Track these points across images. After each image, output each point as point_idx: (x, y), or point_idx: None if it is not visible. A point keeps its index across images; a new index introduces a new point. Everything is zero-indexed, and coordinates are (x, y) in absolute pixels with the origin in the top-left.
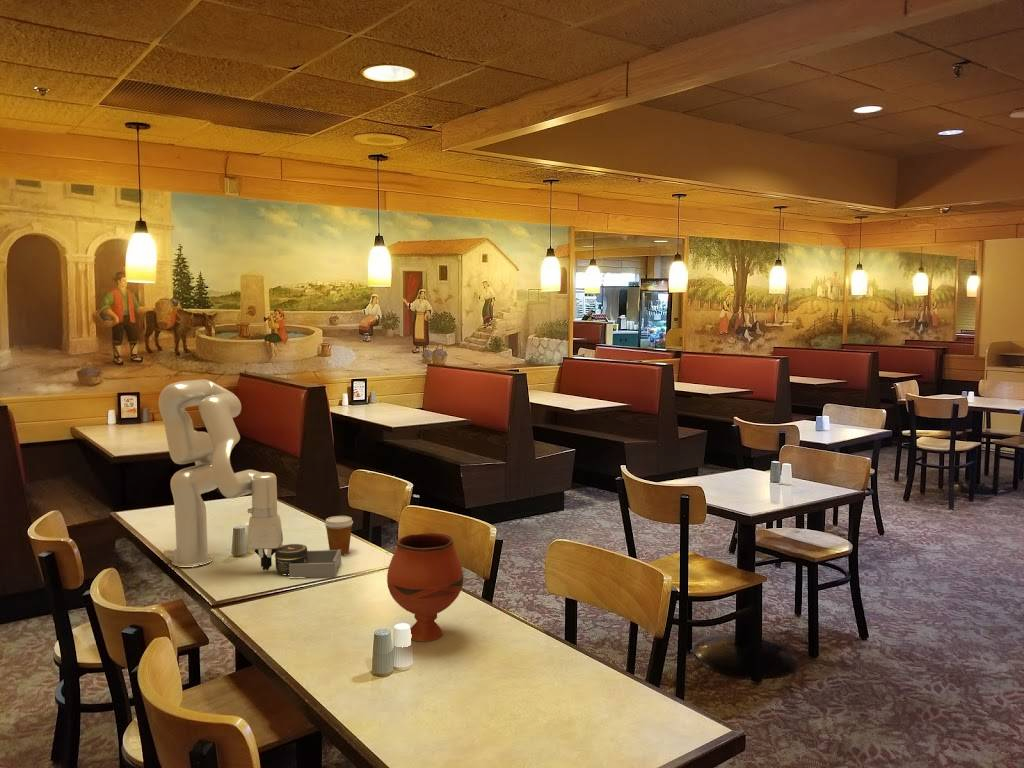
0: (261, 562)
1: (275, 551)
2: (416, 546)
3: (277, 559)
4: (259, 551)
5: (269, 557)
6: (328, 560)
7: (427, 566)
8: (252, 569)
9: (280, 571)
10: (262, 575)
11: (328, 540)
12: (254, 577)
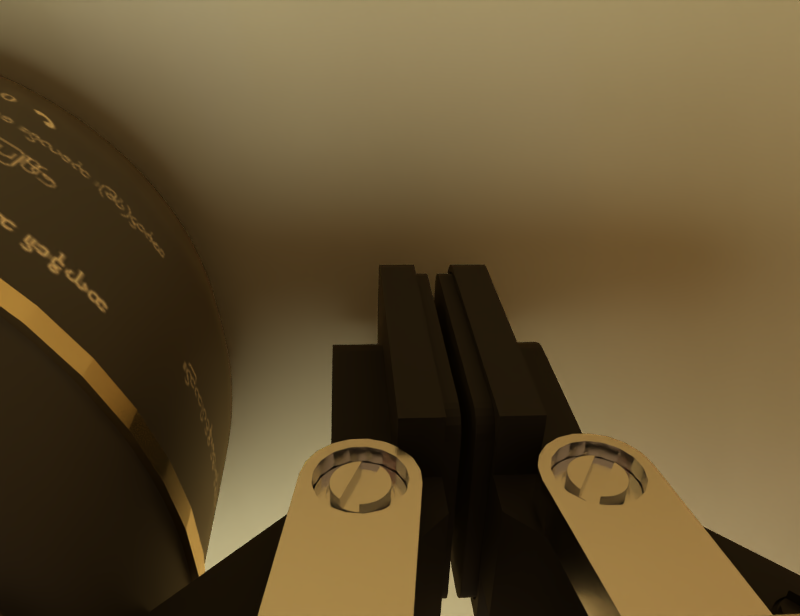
0: (546, 384)
1: (72, 582)
2: None
3: (16, 276)
4: (716, 590)
5: (342, 441)
6: None
7: None
8: (665, 443)
9: (34, 99)
10: (462, 138)
11: None
12: (608, 23)
